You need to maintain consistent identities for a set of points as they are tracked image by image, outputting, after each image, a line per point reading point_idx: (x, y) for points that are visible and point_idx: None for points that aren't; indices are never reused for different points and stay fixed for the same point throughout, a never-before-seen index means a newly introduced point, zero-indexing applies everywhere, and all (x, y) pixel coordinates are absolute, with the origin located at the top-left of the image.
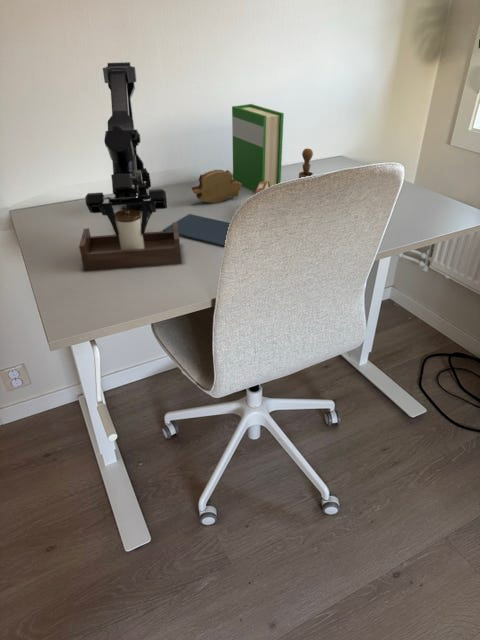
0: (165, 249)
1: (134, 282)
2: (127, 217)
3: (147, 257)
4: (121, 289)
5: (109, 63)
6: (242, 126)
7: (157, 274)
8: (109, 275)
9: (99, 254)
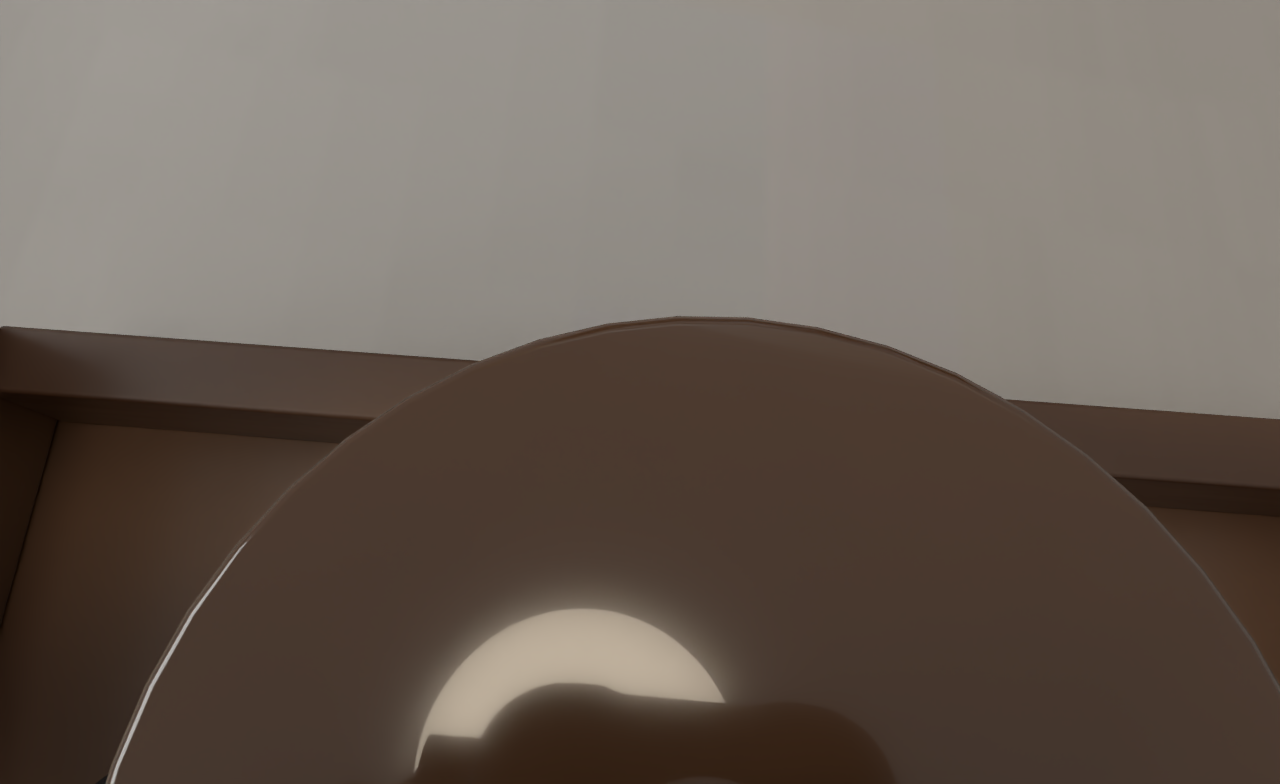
0: (158, 343)
1: (699, 103)
2: (720, 468)
3: None
4: (836, 5)
5: None
6: None
7: (432, 211)
8: (990, 313)
9: (1233, 419)
